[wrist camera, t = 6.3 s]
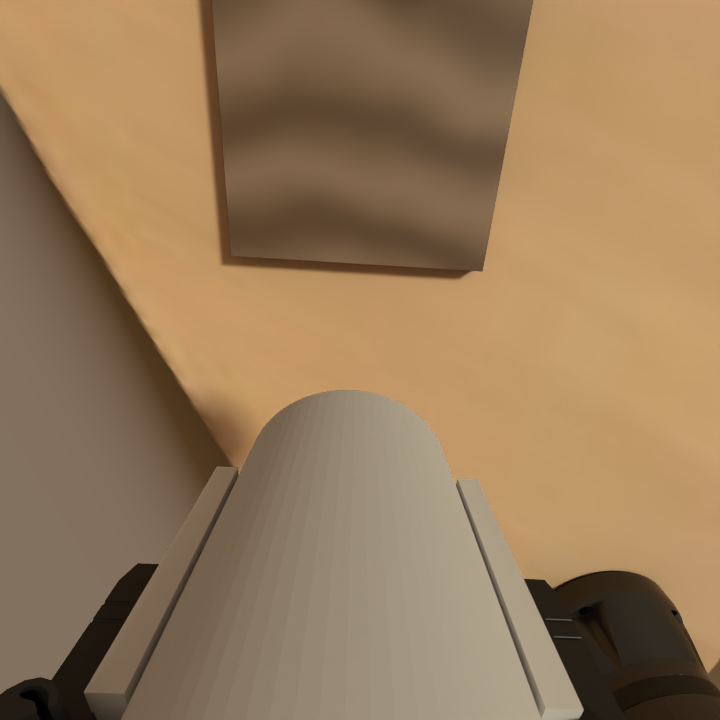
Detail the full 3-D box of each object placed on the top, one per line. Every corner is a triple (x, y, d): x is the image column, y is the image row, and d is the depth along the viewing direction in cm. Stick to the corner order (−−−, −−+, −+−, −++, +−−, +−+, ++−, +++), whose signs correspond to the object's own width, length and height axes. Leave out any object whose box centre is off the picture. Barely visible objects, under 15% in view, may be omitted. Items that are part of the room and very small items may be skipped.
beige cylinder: (222, 510, 15) (-181, 1350, 4) (296, 354, 12) (-322, 1609, 1) (387, 571, 16) (444, 1321, 5) (485, 441, 14) (1041, 1408, 3)
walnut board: (475, 268, 26) (482, 271, 25) (237, 254, 26) (230, 255, 24) (526, -10, 20) (538, -27, 19) (218, -35, 20) (207, -55, 18)
